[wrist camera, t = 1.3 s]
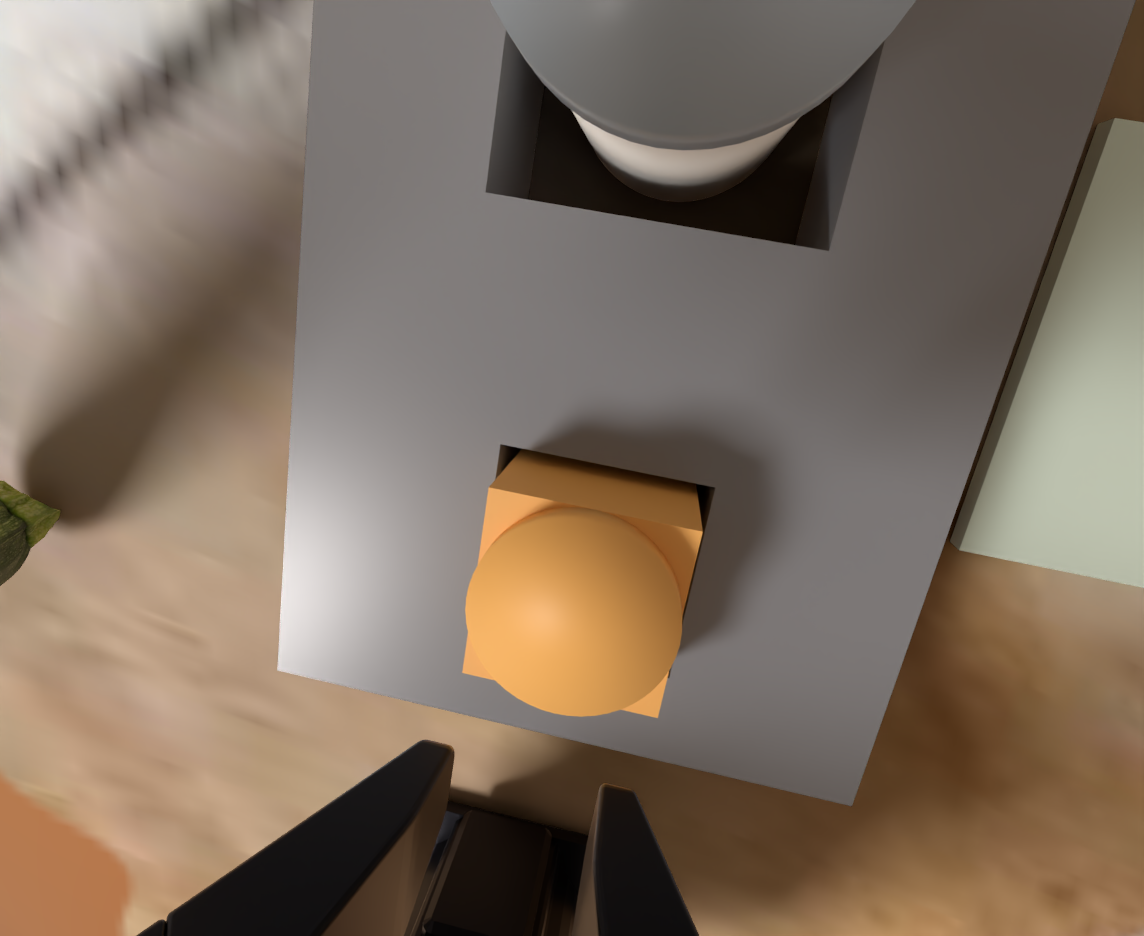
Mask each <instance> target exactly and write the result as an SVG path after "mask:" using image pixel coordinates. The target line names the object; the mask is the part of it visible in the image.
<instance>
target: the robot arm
mask: <svg viewBox="0 0 1144 936" xmlns="http://www.w3.org/2000/svg"><path fill="white" fill-rule="evenodd" d="M453 763H454V749H453V747H452V746H450V745H447V744H442V743H438V742H434V741H430V740H422V741H419V742H417V743H416V744H415V745H413V746H412V747H410V748H409V749H407V750H406V751H404V752H403V753H402V754H400V755H399V756H397V757H396V758H394V759H393V760H391V761H390V762H388V763H387V764H386V765H384V766H383V767H381V768H380V769H378V770H377V771H375V772H374V773H372V774H371V775H370V776H368V777H367V778H365V779H364V780H362V781H361V782H359V783H358V784H356V785H355V786H354V787H352V788H351V789H349V790H348V791H346V792H345V793H343V794H342V795H341V796H339V797H338V798H336V799H335V800H333V801H332V802H330V803H329V804H327V805H326V806H325V807H323V808H322V809H320V810H319V811H317V812H316V813H314V814H313V815H311V816H310V817H309V818H307V819H306V820H304V821H303V822H301V823H300V824H298V825H297V826H295V827H294V828H293V829H291V830H290V831H288V832H287V833H285V834H284V835H282V836H281V837H280V838H278V839H277V840H275V841H274V842H272V843H271V844H269V845H268V846H266V847H265V848H264V849H262V850H261V851H259V852H258V853H256V854H255V855H253V856H252V857H250V858H249V859H248V860H246V861H245V862H243V863H242V864H240V865H239V866H237V867H236V868H235V869H233V870H232V871H230V872H229V873H227V874H226V875H224V876H223V877H221V878H220V879H219V880H217V881H216V882H214V883H213V884H211V885H210V886H208V887H207V888H205V889H204V890H203V891H201V892H200V893H198V894H197V895H195V896H194V897H192V898H191V899H189V900H188V901H187V902H185V903H184V904H182V905H181V906H179V907H178V908H176V909H175V910H174V911H172V912H171V913H169V915H168V916H167V921H165V920H159V921H157V922H156V923H154V924H153V925H151V926H150V927H148V928H147V929H145V930H144V931H142V932H141V933H140V934H138V935H137V936H699V934H698V932H697V930H696V927H695V925H694V923H693V921H692V918H691V916H690V914H689V912H688V909H687V907H686V905H685V903H684V900H683V898H682V896H681V894H680V892H679V889H678V887H677V885H676V883H675V880H674V878H673V876H672V874H671V871H670V869H669V867H668V865H667V862H666V860H665V858H664V856H663V853H662V851H661V849H660V847H659V844H658V842H657V840H656V838H655V835H654V833H653V831H652V829H651V826H650V824H649V822H648V820H647V817H646V815H645V813H644V811H643V808H642V806H641V804H640V802H639V799H638V797H637V795H636V793H635V792H634V791H633V790H631V789H629V788H625V787H621V786H616V785H612V784H608V783H604V784H602V785H601V786H600V788H599V791H598V795H597V800H596V804H595V809H594V813H593V818H592V822H591V827H590V831H589V836H587V835H583V834H579V833H575V832H571V831H567V830H563V829H559V828H555V827H551V826H547V825H543V824H539V823H535V822H531V821H527V820H523V819H519V818H515V817H511V816H507V815H502V814H498V813H494V812H490V811H486V810H482V809H478V808H474V807H470V806H466V805H462V804H458V803H454V802H450V801H448V797H449V791H450V784H451V777H452V770H453Z"/></svg>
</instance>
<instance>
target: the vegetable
mask: <svg viewBox="0 0 1144 936" xmlns="http://www.w3.org/2000/svg"><path fill="white" fill-rule="evenodd" d="M60 511H61V510H59V509H53V508H51V507H49V506H47V505H45V504H43V503H41V502H39V501H37V500H35V499H32V498H30V497H29V496H28V495H26V494H24V493H21V492H19V491H17V490H16V489H14V488H13V487H11V486H10V485H9V484H7V483H6V482H5V481H0V586H1V585H2V584H3V583H5V582H6V581H7V580H8V579H9V578H11V577H12V576H13V575H14V574H15V573H16V572H17V571H18V570H19V569H20V568H21V566H22V564H23V563H24V561H25V560H26V558H27V556H28V554H29V551H30V548H32V547H33V546H34V545H35V544H36V543H38V542H39V541H40V540H41V539H42V538H44V537H45V535H46V534H47V532H48V531H49V529H51V528H52V527H53V525H54V523H55V522H56V521H57V520H58V519H59V516H60Z"/></svg>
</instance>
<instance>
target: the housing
mask: <svg viewBox="0 0 1144 936" xmlns="http://www.w3.org/2000/svg"><path fill="white" fill-rule="evenodd" d="M1135 1H1136V0H916V1H915V3H914V4H913V5H912V7H911V8H910V9H909V11H908V12H907V13H906V14H905V16H904V17H903V18H902V20H901V21H900V22H899V24H898V25H897V26H896V28H895V29H894V30H893V32H892V33H891V34H890V35H889V36H888V37H887V38H886V39H885V40H884V42H883V43H882V44H881V45H880V46H879V47H878V48H877V49H876V50H875V52H874V53H873V54H872V55H871V56H870V57H869V58H868V59H867V60H866V62H865V63H864V64H863V65H862V66H861V67H860V68H859V69H858V70H857V71H856V72H855V73H854V74H853V75H852V76H851V77H850V78H849V79H848V80H847V81H846V82H845V84H844V85H842V86H841V87H840V88H839V89H838V90H836V91H835V92H834V93H833V95H832V99H831V103H830V107H829V111H828V115H827V119H826V123H825V127H824V131H823V135H822V139H821V143H820V147H819V151H818V155H817V159H816V163H815V167H814V171H813V175H812V179H811V183H810V187H809V191H808V195H807V199H806V203H805V207H804V211H803V215H802V219H801V223H800V227H799V231H798V235H797V239H796V243H795V245H791V244H785V243H779V242H773V241H767V240H762V239H756V238H750V237H744V236H738V235H732V234H726V233H721V232H715V231H709V230H703V229H697V228H691V227H685V226H680V225H674V224H668V223H662V222H656V221H650V220H645V219H639V218H633V217H627V216H621V215H615V214H609V213H604V212H598V211H592V210H586V209H580V208H574V207H568V206H563V205H557V204H551V203H545V202H539V201H533V200H528V197H529V190H530V183H531V176H532V169H533V162H534V155H535V148H536V141H537V134H538V127H539V120H540V113H541V106H542V99H543V92H544V84H543V83H542V82H541V80H540V79H539V78H538V76H537V75H536V74H535V72H534V71H533V70H532V68H531V67H530V66H529V64H528V63H527V62H526V60H525V59H524V57H523V56H522V54H521V53H520V51H519V49H518V48H517V46H516V45H515V43H514V42H513V40H512V39H511V37H510V35H509V34H508V32H507V30H506V29H505V27H504V25H503V23H502V22H501V20H500V18H499V16H498V15H497V13H496V11H495V9H494V7H493V6H492V4H491V1H490V0H314V3H313V22H312V40H311V59H310V77H309V96H308V114H307V133H306V151H305V170H304V188H303V207H302V225H301V244H300V262H299V281H298V299H297V318H296V336H295V355H294V373H293V392H292V410H291V429H290V447H289V466H288V484H287V503H286V521H285V540H284V558H283V576H282V595H281V613H280V632H279V650H278V669H277V670H278V671H282V672H286V673H290V674H295V675H299V676H303V677H307V678H312V679H316V680H320V681H324V682H328V683H333V684H337V685H341V686H345V687H350V688H354V689H358V690H362V691H366V692H371V693H375V694H379V695H383V696H388V697H392V698H396V699H400V700H405V701H409V702H413V703H417V704H421V705H426V706H430V707H434V708H438V709H443V710H447V711H451V712H455V713H459V714H464V715H468V716H472V717H476V718H481V719H485V720H489V721H493V722H497V723H502V724H506V725H510V726H514V727H519V728H523V729H527V730H531V731H536V732H540V733H544V734H548V735H552V736H557V737H561V738H565V739H569V740H574V741H578V742H582V743H586V744H590V745H595V746H599V747H603V748H607V749H612V750H616V751H620V752H624V753H629V754H633V755H637V756H641V757H645V758H650V759H654V760H658V761H662V762H667V763H671V764H675V765H679V766H683V767H688V768H692V769H696V770H700V771H705V772H709V773H713V774H717V775H722V776H726V777H730V778H734V779H738V780H743V781H747V782H751V783H755V784H760V785H764V786H768V787H772V788H776V789H781V790H785V791H789V792H793V793H798V794H802V795H806V796H810V797H814V798H819V799H823V800H827V801H831V802H836V803H840V804H844V805H848V806H852V805H853V802H854V799H855V796H856V793H857V790H858V788H859V785H860V782H861V779H862V776H863V773H864V771H865V768H866V765H867V762H868V759H869V756H870V754H871V751H872V748H873V745H874V742H875V739H876V736H877V734H878V731H879V728H880V725H881V722H882V719H883V717H884V714H885V711H886V708H887V705H888V702H889V700H890V697H891V694H892V691H893V688H894V685H895V683H896V680H897V677H898V674H899V671H900V668H901V665H902V663H903V660H904V657H905V654H906V651H907V648H908V646H909V643H910V640H911V637H912V634H913V631H914V629H915V626H916V623H917V620H918V617H919V614H920V612H921V609H922V606H923V603H924V600H925V597H926V594H927V592H928V589H929V586H930V583H931V580H932V577H933V575H934V572H935V569H936V566H937V563H938V560H939V558H940V555H941V552H942V549H943V546H944V543H945V541H946V538H947V535H948V532H949V529H950V526H951V524H952V521H953V518H954V515H955V512H956V509H957V506H958V504H959V501H960V498H961V495H962V492H963V489H964V487H965V484H966V481H967V478H968V475H969V472H970V470H971V467H972V464H973V461H974V458H975V455H976V453H977V450H978V447H979V444H980V441H981V438H982V435H983V433H984V430H985V427H986V424H987V421H988V418H989V416H990V413H991V410H992V407H993V404H994V401H995V399H996V396H997V393H998V390H999V387H1000V384H1001V382H1002V379H1003V376H1004V373H1005V370H1006V367H1007V364H1008V362H1009V359H1010V356H1011V353H1012V350H1013V347H1014V345H1015V342H1016V339H1017V336H1018V333H1019V330H1020V328H1021V325H1022V322H1023V319H1024V316H1025V313H1026V311H1027V308H1028V305H1029V302H1030V299H1031V296H1032V293H1033V291H1034V288H1035V285H1036V282H1037V279H1038V276H1039V274H1040V271H1041V268H1042V265H1043V262H1044V259H1045V257H1046V254H1047V251H1048V248H1049V245H1050V242H1051V240H1052V237H1053V234H1054V231H1055V228H1056V225H1057V222H1058V220H1059V217H1060V214H1061V211H1062V208H1063V205H1064V203H1065V200H1066V197H1067V194H1068V191H1069V188H1070V186H1071V183H1072V180H1073V177H1074V174H1075V171H1076V169H1077V166H1078V163H1079V160H1080V157H1081V154H1082V151H1083V149H1084V146H1085V143H1086V140H1087V137H1088V134H1089V132H1090V129H1091V126H1092V123H1093V120H1094V117H1095V115H1096V112H1097V109H1098V106H1099V103H1100V100H1101V98H1102V95H1103V92H1104V89H1105V86H1106V83H1107V80H1108V78H1109V75H1110V72H1111V69H1112V66H1113V63H1114V61H1115V58H1116V55H1117V52H1118V49H1119V46H1120V44H1121V41H1122V38H1123V35H1124V32H1125V29H1126V27H1127V24H1128V21H1129V18H1130V15H1131V12H1132V9H1133V7H1134V4H1135ZM521 449H527V450H532V451H537V452H542V453H547V454H552V455H557V456H562V457H567V458H572V459H577V460H582V461H587V462H591V463H596V464H601V465H606V466H611V467H616V468H621V469H626V470H631V471H636V472H641V473H646V474H651V475H656V476H661V477H666V478H671V479H676V480H681V481H686V482H691V483H696V487H697V494H698V501H699V508H700V516H701V523H702V530H703V533H702V537H701V541H700V545H699V550H698V554H697V558H696V562H695V566H694V570H693V574H692V578H691V583H690V587H689V591H688V595H687V599H686V603H685V607H684V612H683V616H682V635H681V641H680V646H679V649H678V652H677V656H676V658H675V660H674V662H673V664H672V666H671V668H670V670H669V674H668V678H667V682H666V686H665V690H664V694H663V698H662V703H661V707H660V711H659V715H658V718H655V717H651V716H646V715H642V714H638V713H633V712H629V711H625V710H618V711H615V712H611V713H608V714H602V715H597V716H583V717H579V716H566V715H560V714H554V713H551V712H547V711H544V710H541V709H538V708H536V707H534V706H531V705H529V704H527V703H525V702H523V701H521V700H520V699H518V698H516V697H515V696H513V695H512V694H511V693H509V692H508V691H506V690H505V689H504V688H503V687H502V686H501V685H500V684H498V683H497V682H496V681H495V680H491V679H486V678H482V677H478V676H473V675H469V674H465V673H462V671H463V664H464V657H465V650H466V643H467V636H468V629H467V625H466V613H465V607H466V596H467V591H468V587H469V583H470V581H471V578H472V575H473V573H474V571H475V569H476V567H477V566H478V559H479V552H480V545H481V538H482V531H483V524H484V517H485V510H486V503H487V496H488V489H489V486H490V485H491V484H492V483H493V482H494V481H495V479H496V478H497V477H498V476H499V475H500V474H501V473H502V471H503V470H504V469H505V468H506V467H507V466H508V464H509V463H510V462H511V461H512V460H513V459H514V458H515V456H516V455H517V454H518V453H519V452H520V451H521Z"/></svg>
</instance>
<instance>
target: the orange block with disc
mask: <svg viewBox="0 0 1144 936" xmlns="http://www.w3.org/2000/svg"><path fill="white" fill-rule="evenodd" d="M702 533H703V530H702V523H701V516H700V508H699V501H698V494H697V487H696V483H691V482H686V481H681V480H676V479H671V478H666V477H661V476H656V475H651V474H646V473H641V472H636V471H631V470H626V469H621V468H616V467H611V466H606V465H601V464H596V463H591V462H587V461H582V460H577V459H572V458H567V457H562V456H557V455H552V454H547V453H542V452H537V451H532V450H527V449H521V451H520V452H519V453H518V454H517V455H516V456H515V458H514V459H513V460H512V461H511V462H510V463H509V464H508V466H507V467H506V468H505V469H504V470H503V471H502V473H501V474H500V475H499V476H498V477H497V478H496V479H495V481H494V482H493V483H492V484H491V485H490V486H489V489H488V496H487V503H486V510H485V517H484V524H483V531H482V538H481V545H480V552H479V559H478V566H477V567H476V569H475V571H474V573H473V575H472V578H471V581H470V583H469V587H468V591H467V596H466V607H465V613H466V625H467V629H468V636H467V643H466V650H465V657H464V664H463V671H462V673H465V674H469V675H473V676H478V677H482V678H486V679H491V680H495V681H496V682H497V683H498V684H500V685H501V686H502V687H503V688H504V689H505V690H506V691H508V692H509V693H511V694H512V695H513V696H515V697H516V698H518V699H520V700H521V701H523V702H525V703H527V704H529V705H531V706H534V707H536V708H538V709H541V710H544V711H547V712H551V713H554V714H560V715H566V716H579V717H583V716H597V715H602V714H608V713H611V712H615V711H618V710H625V711H629V712H633V713H638V714H642V715H646V716H651V717H655V718H658V715H659V711H660V707H661V703H662V698H663V694H664V690H665V686H666V682H667V678H668V674H669V670H670V668H671V666H672V664H673V662H674V660H675V658H676V656H677V652H678V649H679V646H680V641H681V635H682V616H683V612H684V607H685V603H686V599H687V595H688V591H689V587H690V583H691V578H692V574H693V570H694V566H695V562H696V558H697V554H698V550H699V545H700V541H701V537H702Z"/></svg>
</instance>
